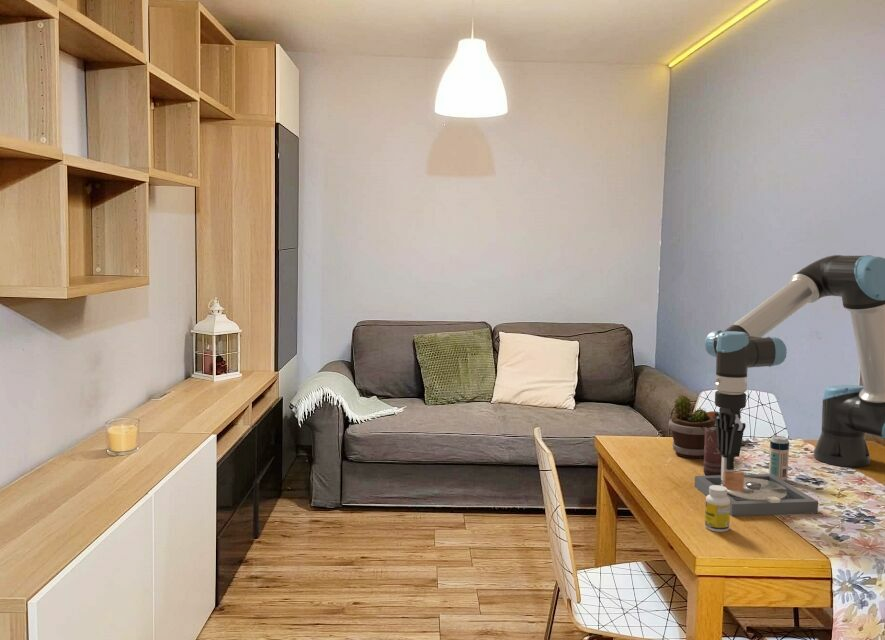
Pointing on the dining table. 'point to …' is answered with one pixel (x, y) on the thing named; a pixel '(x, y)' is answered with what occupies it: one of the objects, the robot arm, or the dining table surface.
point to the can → (711, 453)
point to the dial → (751, 487)
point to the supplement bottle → (717, 509)
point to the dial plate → (771, 506)
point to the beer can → (779, 457)
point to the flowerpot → (689, 429)
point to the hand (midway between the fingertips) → (727, 480)
